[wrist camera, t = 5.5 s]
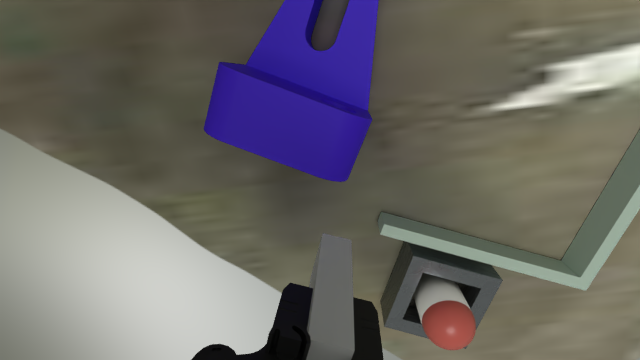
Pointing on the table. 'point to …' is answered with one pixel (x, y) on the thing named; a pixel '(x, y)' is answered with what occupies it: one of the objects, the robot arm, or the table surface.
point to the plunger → (444, 312)
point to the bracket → (300, 92)
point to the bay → (573, 270)
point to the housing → (416, 259)
